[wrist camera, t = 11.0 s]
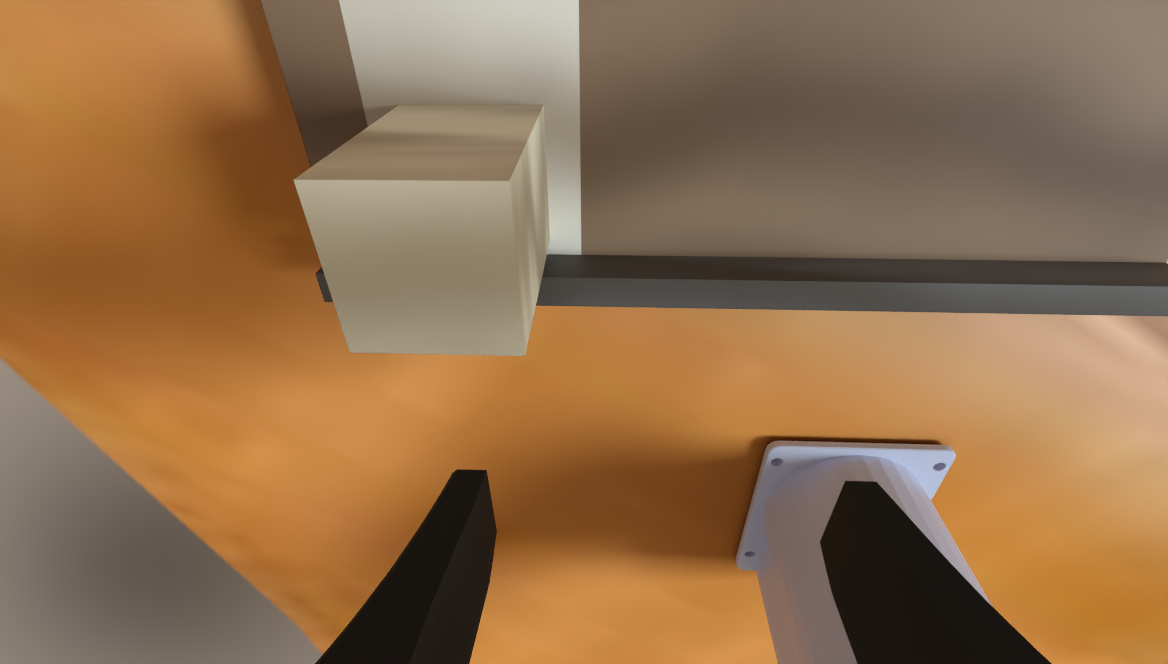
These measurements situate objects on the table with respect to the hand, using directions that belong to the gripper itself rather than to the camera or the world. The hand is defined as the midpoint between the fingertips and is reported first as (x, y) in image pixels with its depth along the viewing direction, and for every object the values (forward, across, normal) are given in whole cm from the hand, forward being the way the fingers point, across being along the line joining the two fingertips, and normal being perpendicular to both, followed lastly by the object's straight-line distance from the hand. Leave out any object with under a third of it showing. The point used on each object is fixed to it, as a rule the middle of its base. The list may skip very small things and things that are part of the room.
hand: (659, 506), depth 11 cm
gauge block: (+8, +5, -4) cm, 11 cm away
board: (+10, -3, -5) cm, 11 cm away
